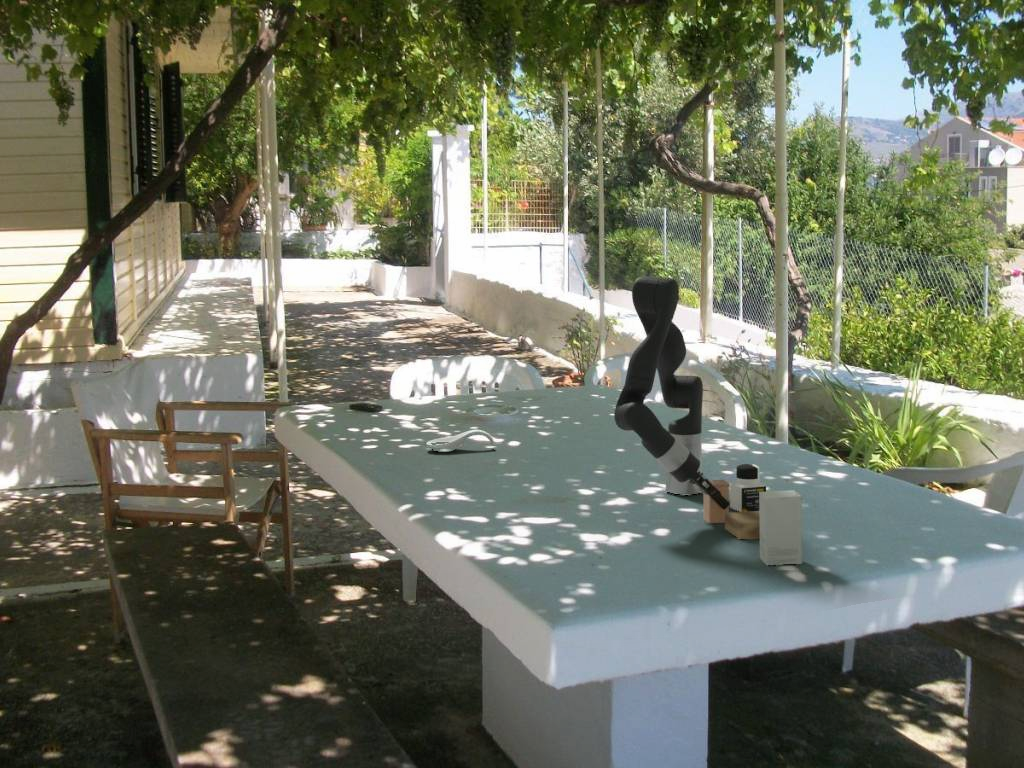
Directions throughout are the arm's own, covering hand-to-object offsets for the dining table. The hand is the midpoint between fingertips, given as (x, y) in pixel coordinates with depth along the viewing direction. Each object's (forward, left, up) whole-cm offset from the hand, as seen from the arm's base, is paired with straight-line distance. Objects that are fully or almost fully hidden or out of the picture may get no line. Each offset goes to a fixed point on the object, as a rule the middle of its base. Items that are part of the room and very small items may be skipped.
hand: (722, 503), depth 303 cm
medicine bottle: (+2, +14, -4) cm, 15 cm away
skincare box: (+26, -31, -4) cm, 41 cm away
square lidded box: (-1, -1, -4) cm, 5 cm away
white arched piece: (-117, +55, -5) cm, 129 cm away
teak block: (+12, -9, -4) cm, 15 cm away
